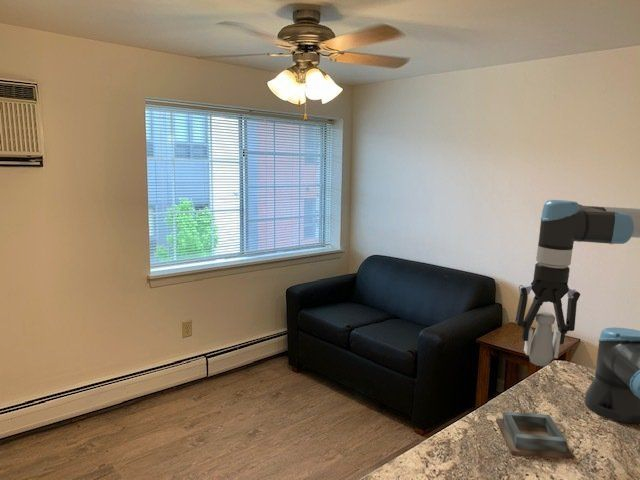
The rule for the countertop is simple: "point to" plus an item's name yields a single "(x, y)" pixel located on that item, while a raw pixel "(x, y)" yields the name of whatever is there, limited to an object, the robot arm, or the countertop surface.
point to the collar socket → (533, 435)
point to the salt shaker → (542, 340)
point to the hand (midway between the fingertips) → (540, 354)
